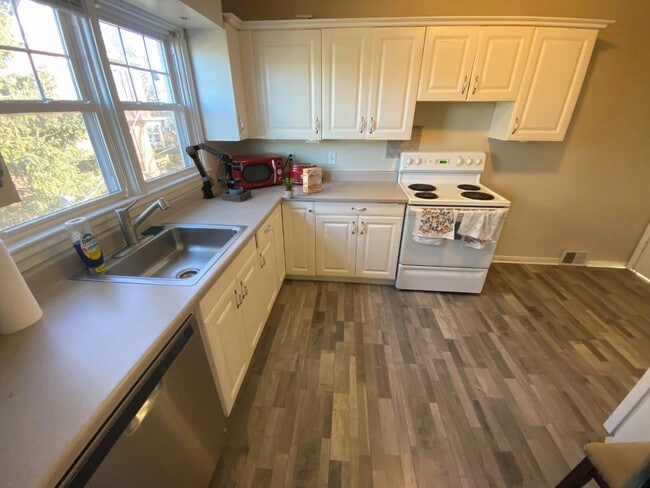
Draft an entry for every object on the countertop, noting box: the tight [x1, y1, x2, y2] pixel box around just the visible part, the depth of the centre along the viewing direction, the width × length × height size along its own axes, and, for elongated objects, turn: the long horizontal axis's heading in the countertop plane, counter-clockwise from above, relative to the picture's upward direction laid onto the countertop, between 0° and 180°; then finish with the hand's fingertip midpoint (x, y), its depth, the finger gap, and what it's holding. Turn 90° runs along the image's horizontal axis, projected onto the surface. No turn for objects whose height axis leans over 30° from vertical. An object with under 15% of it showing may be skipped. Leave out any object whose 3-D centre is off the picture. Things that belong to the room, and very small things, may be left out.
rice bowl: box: [228, 186, 244, 195], centre depth 215 cm, size 10×10×5 cm
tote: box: [221, 189, 252, 203], centre depth 217 cm, size 16×16×5 cm
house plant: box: [282, 177, 298, 200], centre depth 216 cm, size 14×14×16 cm
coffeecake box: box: [302, 166, 323, 195], centre depth 235 cm, size 15×7×20 cm, turn 129°
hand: (231, 191), depth 217 cm, fingers closed on rice bowl
